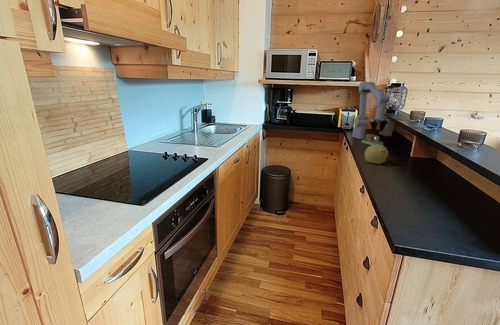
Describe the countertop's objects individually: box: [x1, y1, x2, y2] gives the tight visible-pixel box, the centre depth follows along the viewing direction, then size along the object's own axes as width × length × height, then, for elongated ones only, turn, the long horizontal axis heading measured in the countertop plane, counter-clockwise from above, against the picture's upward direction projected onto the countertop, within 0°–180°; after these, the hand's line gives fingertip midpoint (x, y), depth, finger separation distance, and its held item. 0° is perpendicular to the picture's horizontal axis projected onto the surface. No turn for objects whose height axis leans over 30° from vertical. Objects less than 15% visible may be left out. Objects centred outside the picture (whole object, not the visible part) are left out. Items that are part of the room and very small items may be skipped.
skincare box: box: [378, 115, 395, 137], centre depth 222 cm, size 8×7×16 cm
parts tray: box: [360, 139, 384, 146], centre depth 193 cm, size 12×9×2 cm
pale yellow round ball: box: [364, 144, 389, 165], centre depth 147 cm, size 12×12×11 cm
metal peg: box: [373, 135, 380, 143], centre depth 189 cm, size 4×4×6 cm
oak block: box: [364, 133, 375, 143], centre depth 194 cm, size 4×4×6 cm
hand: (377, 131), depth 188 cm, fingers open, 7 cm apart
